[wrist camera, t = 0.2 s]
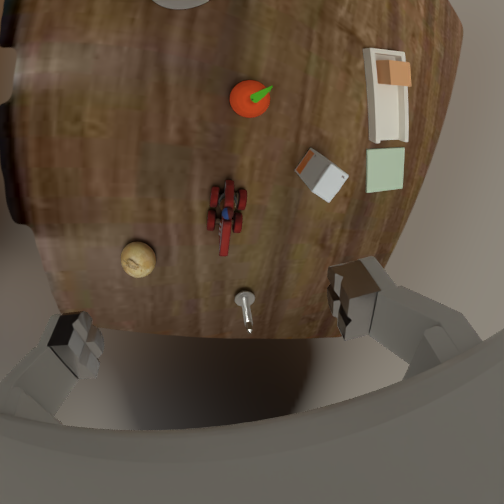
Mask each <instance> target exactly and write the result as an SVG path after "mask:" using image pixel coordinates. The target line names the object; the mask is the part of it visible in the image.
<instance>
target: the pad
mask: <svg viewBox="0 0 504 504" xmlns="http://www.w3.org/2000/svg"><path fill="white" fill-rule="evenodd" d="M404 152H405V148H404V147H395V148H376V149H366V193H370V192H378V191H385V190H393V189H402V187H403V173H404Z"/></svg>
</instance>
